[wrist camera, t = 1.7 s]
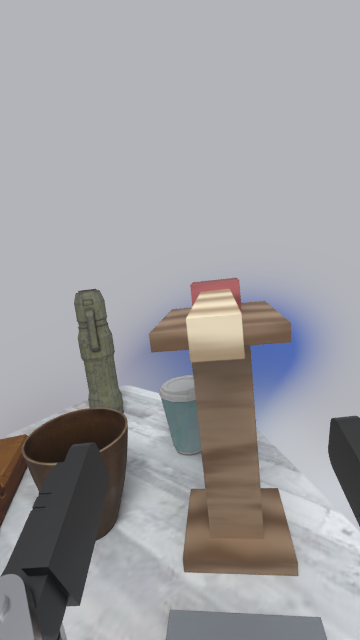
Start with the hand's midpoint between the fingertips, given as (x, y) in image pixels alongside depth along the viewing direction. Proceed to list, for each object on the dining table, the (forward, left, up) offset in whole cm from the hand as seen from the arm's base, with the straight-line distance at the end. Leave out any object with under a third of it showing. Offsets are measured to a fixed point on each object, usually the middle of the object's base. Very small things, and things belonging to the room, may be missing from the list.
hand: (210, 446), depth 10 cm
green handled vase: (-61, +39, -32) cm, 79 cm away
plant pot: (-34, +14, -33) cm, 49 cm away
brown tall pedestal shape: (-14, +24, -32) cm, 43 cm away
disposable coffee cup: (-32, +38, -33) cm, 59 cm away
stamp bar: (-10, +19, 0) cm, 21 cm away
